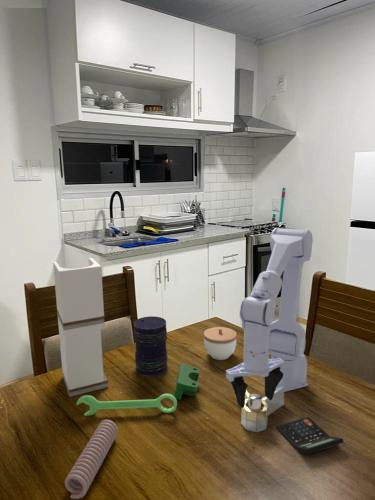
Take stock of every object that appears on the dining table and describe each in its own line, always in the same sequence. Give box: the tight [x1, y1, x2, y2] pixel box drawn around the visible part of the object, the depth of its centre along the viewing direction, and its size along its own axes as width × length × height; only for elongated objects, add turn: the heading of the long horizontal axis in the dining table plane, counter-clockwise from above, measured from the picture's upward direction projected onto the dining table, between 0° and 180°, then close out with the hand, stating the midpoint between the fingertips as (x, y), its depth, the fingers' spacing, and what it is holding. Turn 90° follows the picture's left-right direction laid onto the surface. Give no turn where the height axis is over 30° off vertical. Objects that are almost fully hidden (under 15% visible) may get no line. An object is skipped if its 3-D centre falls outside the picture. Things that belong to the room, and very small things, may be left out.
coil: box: [64, 419, 119, 500], centre depth 80 cm, size 5×5×18 cm
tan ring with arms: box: [240, 386, 285, 433], centre depth 97 cm, size 14×14×5 cm
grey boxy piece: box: [52, 257, 109, 398], centre depth 107 cm, size 11×11×35 cm
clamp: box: [173, 363, 200, 400], centre depth 106 cm, size 11×6×8 cm, turn 171°
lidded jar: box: [203, 326, 238, 361], centre depth 125 cm, size 11×11×9 cm
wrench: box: [76, 393, 178, 417], centre depth 96 cm, size 25×2×5 cm, turn 93°
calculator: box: [275, 416, 344, 455], centre depth 86 cm, size 9×12×3 cm
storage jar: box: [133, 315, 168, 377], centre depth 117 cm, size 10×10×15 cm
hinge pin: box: [248, 393, 262, 411], centre depth 91 cm, size 3×3×7 cm
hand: (254, 401), depth 91 cm, fingers open, 7 cm apart
